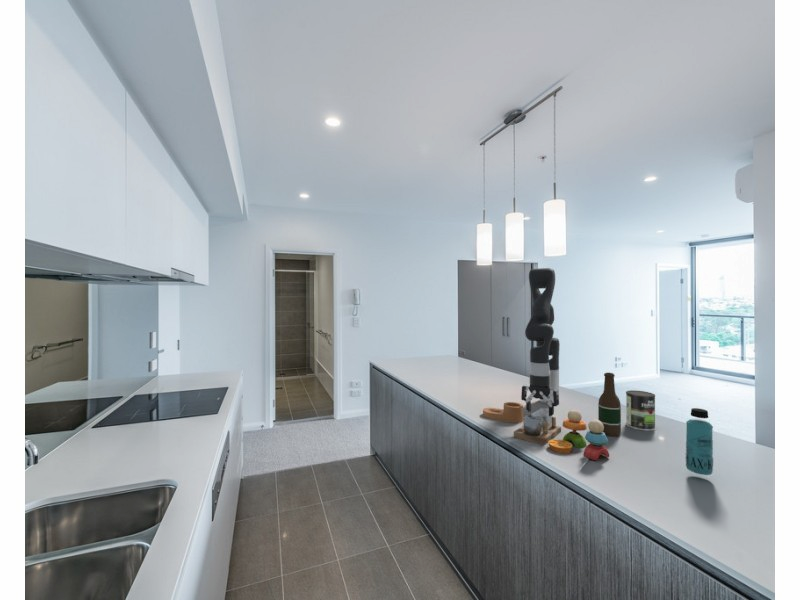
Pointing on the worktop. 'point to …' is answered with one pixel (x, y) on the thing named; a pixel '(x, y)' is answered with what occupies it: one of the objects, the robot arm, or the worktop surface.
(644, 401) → the coffee can
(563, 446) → the wooden stacking toy
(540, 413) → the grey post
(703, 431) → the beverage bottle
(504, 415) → the bracket
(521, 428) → the rack
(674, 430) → the worktop surface
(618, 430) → the beer bottle
